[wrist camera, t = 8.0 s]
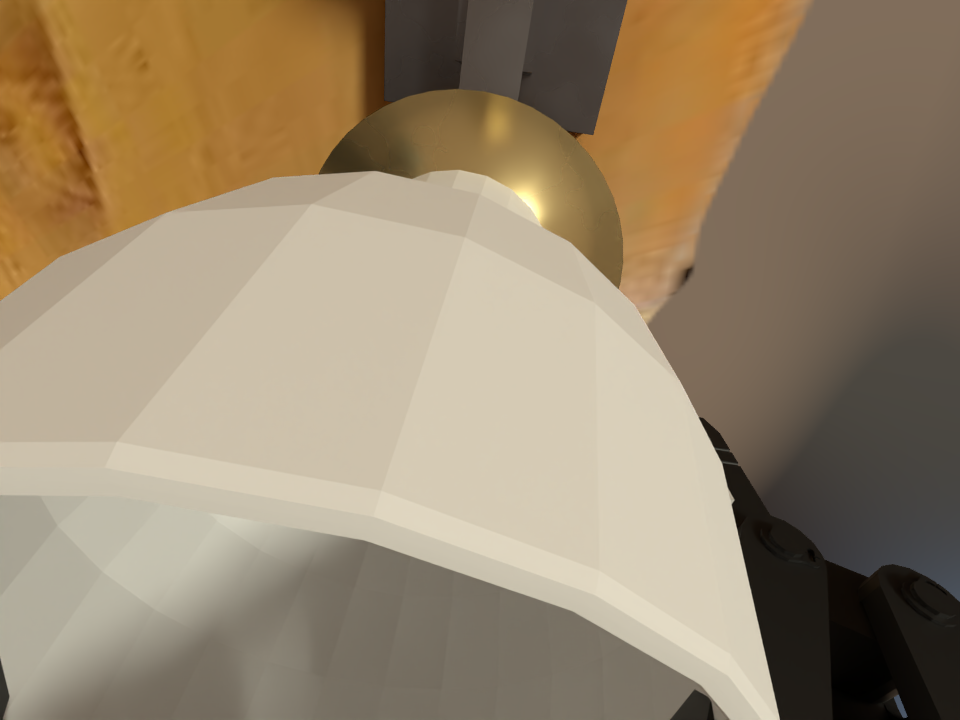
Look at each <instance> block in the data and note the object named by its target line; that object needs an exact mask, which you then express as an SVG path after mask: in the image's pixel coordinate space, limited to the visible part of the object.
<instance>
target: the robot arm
mask: <svg viewBox="0 0 960 720" xmlns="http://www.w3.org/2000/svg"><path fill="white" fill-rule="evenodd" d="M699 419H700V421H701V423H702V425H703V427H704V429H705V431H706V433H707V435H708V437H709V439H710V441H711V443H712V445H713V447H714V449H715V451H716V453H717V455H718V457H719V459H720V461H721V463H722V465H723V469H724V474H725V478H726V483H727V487H728V492H729V496H730V500H731V505H732V509H733V514H734V518H735V523H736V527H737V531H738V536H739V540H740V545H741V549H742V554H743V558H744V563H745V567H746V571H747V576H748V580H749V585H750V589H751V594H752V598H753V602H754V607H755V611H756V616H757V620H758V625H759V629H760V634H761V638H762V642H763V647H764V651H765V656H766V660H767V665H768V669H769V673H770V678H771V682H772V687H773V691H774V696H775V700H776V705H777V709H778V713H779V718H780V720H960V602H959V601H958V600H957V599H956V598H955V597H954V596H953V595H951V594H950V593H949V592H948V591H947V590H946V589H944V588H943V587H942V586H940V585H939V584H937V583H936V582H934V581H933V580H931V579H929V578H928V577H926V576H924V575H922V574H920V573H918V572H916V571H914V570H912V569H910V568H906V567H902V566H898V565H894V564H892V565H885V566H881V567H880V568H879V569H878V570H877V571H876V572H874V573H873V574H872V575H871V576H870V577H866V576H864V575H861V574H859V573H856V572H854V571H851V570H849V569H846V568H844V567H842V566H839V565H836V564H834V563H832V562H829V561H827V560H824V558H823V556H822V554H821V553H820V551H819V550H818V549H817V547H816V546H815V544H814V543H813V542H812V541H811V540H810V539H808V538H807V537H806V536H805V535H804V534H803V533H802V532H801V531H800V530H798V529H797V528H795V527H793V526H792V525H790V524H789V523H787V522H786V521H784V520H781V519H778V518H776V517H773V516H771V515H770V514H769V512H768V511H767V509H766V507H765V506H764V504H763V502H762V501H761V499H760V498H759V496H758V494H757V493H756V491H755V489H754V488H753V486H752V485H751V483H750V481H749V480H748V478H747V477H746V475H745V473H744V472H743V470H742V468H741V467H740V466H738V462H737V460H736V459H735V457H734V455H733V454H732V453H731V452H729V450H730V449H729V447H728V446H727V444H726V443H725V441H724V439H723V438H722V436H721V435H720V433H719V432H718V431H717V430H716V429H715V428H714V427H712V426H711V425H710V424H709V423H708V422H707V421H706V420H705V419H704V418H700V417H699ZM898 694H899V696H900V698H901V701H902V704H903V706H904V708H905V711H906V713H907V716H908V717H907V718H903V717H902V715H901V713H900V712H899V710H898V708H897V705H896V702H895V700H894V697H895V696H896V695H898ZM9 697H10V696H9V692H8V688H7V684H6V679H5V675H4V671H3V667H2V663H1V659H0V720H3V717H4V713H5V710H6V707H7V704H8V700H9ZM670 720H714V714H713V708H712V702H711V700H710V699H709V698H708V697H707V696H706V695H704V694H702V693H700V692H699V691H697V690H695V689H694V691H693V692H692V693H691V694H690V696H689V697H688V698H687V699H686V701H685V702H684V703H683V704H682V705H681V707H680V708H679V709H678V710H677V712H676V713H675V714H674V715H673V717H672V718H671V719H670Z"/></svg>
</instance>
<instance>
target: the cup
mask: <svg viewBox="0 0 960 720" xmlns="http://www.w3.org/2000/svg"><path fill="white" fill-rule="evenodd" d="M0 659H1V663H2V667H3V671H4V675H5V679H6V684H7V688H8V692H9V696H10V697H9V700H8V704H7V707H6V710H5V713H4V717H3V720H670V719H671V718H672V717H673V715H674V714H675V713H676V712H677V710H678V709H679V708H680V707H681V705H682V704H683V703H684V702H685V701H686V699H687V698H688V697H689V696H690V694H691V693H692V692H693V691H694V689H695V690H697V691H699V692H700V693H702V694H704V695H706V696H707V697H708V698H709V699H710V700H711V702H712V708H713V714H714V720H780V718H779V713H778V709H777V705H776V700H775V696H774V691H773V687H772V682H771V678H770V673H769V669H768V665H767V660H766V656H765V651H764V647H763V642H762V638H761V634H760V629H759V625H758V620H757V616H756V611H755V607H754V602H753V598H752V594H751V589H750V585H749V580H748V576H747V571H746V567H745V563H744V558H743V554H742V549H741V545H740V540H739V536H738V531H737V527H736V523H735V518H734V514H733V509H732V505H731V500H730V496H729V492H728V487H727V483H726V478H725V474H724V469H723V465H722V463H721V461H720V459H719V457H718V455H717V453H716V451H715V449H714V447H713V445H712V443H711V441H710V439H709V437H708V435H707V433H706V431H705V429H704V427H703V425H702V423H701V421H700V419H699V417H698V416H697V414H696V412H695V410H694V408H693V406H692V404H691V402H690V400H689V398H688V396H687V394H686V392H685V390H684V388H683V386H682V384H681V383H680V381H679V379H678V377H677V376H676V374H675V373H674V371H673V369H672V367H671V366H670V364H669V362H668V361H667V359H666V357H665V356H664V354H663V352H662V351H661V349H660V347H659V346H658V344H657V342H656V341H655V339H654V337H653V335H652V334H651V332H650V330H649V329H648V327H647V325H646V324H645V322H644V320H643V318H642V317H641V315H640V313H639V312H638V310H637V308H636V307H635V305H634V304H633V303H632V302H631V301H630V300H629V299H628V298H627V297H626V296H625V295H624V294H623V293H622V292H621V291H620V290H619V289H618V288H617V287H615V286H614V285H613V284H612V283H611V282H610V281H609V280H608V279H607V278H606V277H605V276H604V275H603V274H602V273H601V272H600V271H599V270H598V269H597V268H596V267H595V266H594V265H593V264H592V263H591V262H590V261H589V260H588V259H587V258H586V257H585V256H584V255H583V254H582V253H581V252H580V251H579V250H578V249H577V248H576V247H575V246H574V245H573V244H572V243H571V242H569V241H567V240H565V239H563V238H561V237H559V236H558V235H556V234H554V233H552V232H550V231H548V230H546V229H544V228H543V227H542V226H541V224H540V222H539V221H538V219H537V217H536V215H535V214H534V212H533V210H532V209H531V208H530V207H529V206H528V205H527V204H526V203H525V202H524V201H523V200H522V199H521V198H520V197H519V196H518V195H517V194H516V193H515V192H514V191H513V190H512V189H510V188H508V187H506V186H504V185H503V184H501V183H499V182H497V181H495V180H493V179H492V178H490V177H488V176H485V175H480V174H476V173H471V172H467V171H462V170H449V171H433V172H429V173H426V174H424V175H421V176H418V177H416V178H413V179H409V178H405V177H400V176H396V175H391V174H387V173H382V172H378V171H366V172H351V173H336V174H321V175H306V176H290V177H275V178H271V179H268V180H265V181H262V182H259V183H256V184H253V185H250V186H246V187H243V188H240V189H237V190H234V191H231V192H228V193H225V194H222V195H219V196H216V197H213V198H210V199H207V200H204V201H201V202H198V203H195V204H192V205H189V206H186V207H183V208H180V209H176V210H173V211H170V212H167V213H165V214H162V215H160V216H158V217H155V218H153V219H150V220H148V221H146V222H143V223H141V224H138V225H136V226H134V227H131V228H129V229H126V230H124V231H121V232H119V233H117V234H114V235H112V236H109V237H107V238H105V239H102V240H100V241H97V242H95V243H93V244H90V245H88V246H85V247H83V248H81V249H78V250H76V251H73V252H71V253H69V254H66V255H64V256H61V257H59V258H58V259H56V260H55V261H54V262H52V263H51V264H50V265H48V266H47V267H46V268H44V269H43V270H41V271H40V272H39V273H37V274H36V275H35V276H33V277H32V278H31V279H29V280H28V281H27V282H25V283H24V284H23V285H21V286H20V287H18V288H17V289H16V290H14V291H13V292H12V293H10V294H9V295H8V296H6V297H5V298H4V299H2V300H1V301H0Z"/></svg>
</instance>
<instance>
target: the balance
mask: <svg viewBox="0 0 960 720" xmlns="http://www.w3.org/2000/svg"><path fill="white" fill-rule="evenodd" d="M626 4H627V0H385V80H384V101H389V102H393V103H391V104H388V105H386V106H384V107H382V108H381V109H379V110H378V111H376V112H374V113H373V114H371V115H369V116H368V117H366V118H365V119H363V120H362V121H361V122H360V123H359V124H358V125H356V126H355V127H354V128H353V129H352V130H351V131H349V132H348V133H347V134H346V135H345V136H344V138H343V139H342V140H341V141H340V142H339V144H338V145H337V146H336V147H335V148H334V149H333V151H332V152H331V154H330V155H329V157H328V159H327V160H326V162H325V164H324V165H323V167H322V168H321V170H320V172H319V175H321V174H336V173H351V172H366V171H378V172H382V173H387V174H391V175H396V176H400V177H405V178H409V179H413V178H416V177H418V176H421V175H424V174H426V173H429V172H433V171H449V170H462V171H467V172H471V173H476V174H480V175H485V176H488V177H490V178H492V179H493V180H495V181H497V182H499V183H501V184H503V185H504V186H506V187H508V188H510V189H512V190H513V191H514V192H515V193H516V194H517V195H518V196H519V197H520V198H521V199H522V200H523V201H524V202H525V203H526V204H527V205H528V206H529V207H530V208H531V209H532V210H533V212H534V214H535V215H536V217H537V219H538V221H539V222H540V224H541V226H542V227H543V228H544V229H546V230H548V231H550V232H552V233H554V234H556V235H558V236H559V237H561V238H563V239H565V240H567V241H569V242H571V243H572V244H573V245H574V246H575V247H576V248H577V249H578V250H579V251H580V252H581V253H582V254H583V255H584V256H585V257H586V258H587V259H588V260H589V261H590V262H591V263H592V264H593V265H594V266H595V267H596V268H597V269H598V270H599V271H600V272H601V273H602V274H603V275H604V276H605V277H606V278H607V279H608V280H609V281H610V282H611V283H612V284H613V285H614V286H615V287H617V288H618V289H619V285H620V282H621V274H622V266H623V238H622V231H621V224H620V218H619V215H618V212H617V208H616V205H615V202H614V198H613V196H612V193H611V191H610V189H609V187H608V185H607V183H606V181H605V178H604V176H603V175H602V173H601V172H600V170H599V168H598V167H597V165H596V164H595V162H594V161H593V159H592V158H591V156H590V155H589V154H588V153H587V152H586V150H585V149H584V148H583V147H582V146H581V145H580V144H579V143H578V141H577V140H576V139H575V138H574V137H573V136H572V135H571V134H569V133H568V132H567V131H571V132H577V133H584V134H590V135H593V134H594V130H595V126H596V122H597V118H598V114H599V110H600V106H601V102H602V98H603V94H604V90H605V86H606V82H607V78H608V74H609V71H610V67H611V63H612V59H613V55H614V51H615V47H616V43H617V39H618V35H619V31H620V27H621V23H622V19H623V15H624V11H625V7H626Z"/></svg>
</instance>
